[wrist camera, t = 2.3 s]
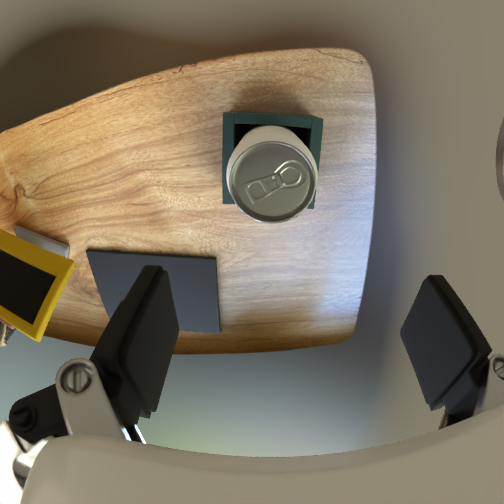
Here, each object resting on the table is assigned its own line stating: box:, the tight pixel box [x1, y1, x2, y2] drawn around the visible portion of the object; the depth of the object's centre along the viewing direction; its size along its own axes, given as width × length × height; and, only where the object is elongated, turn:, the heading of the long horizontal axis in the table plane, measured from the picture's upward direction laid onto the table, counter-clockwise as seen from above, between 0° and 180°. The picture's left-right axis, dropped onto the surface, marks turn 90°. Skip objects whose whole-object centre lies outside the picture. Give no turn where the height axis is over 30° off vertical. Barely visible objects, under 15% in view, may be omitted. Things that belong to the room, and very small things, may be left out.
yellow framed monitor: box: [0, 225, 76, 342], centre depth 29 cm, size 20×8×16 cm, turn 73°
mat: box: [86, 250, 220, 334], centre depth 38 cm, size 20×14×1 cm
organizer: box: [222, 111, 323, 209], centre depth 25 cm, size 9×9×5 cm
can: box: [226, 124, 318, 223], centre depth 22 cm, size 6×6×12 cm
